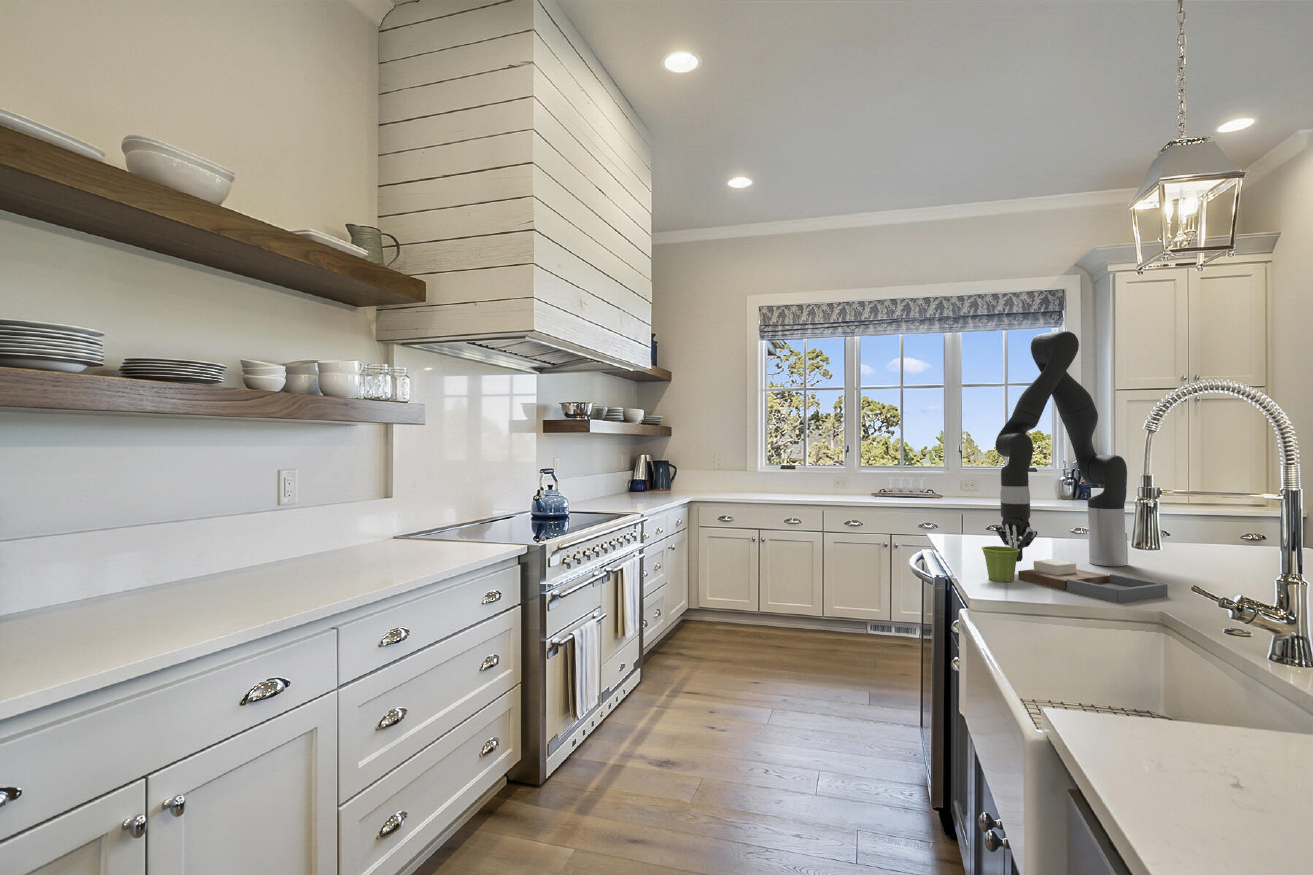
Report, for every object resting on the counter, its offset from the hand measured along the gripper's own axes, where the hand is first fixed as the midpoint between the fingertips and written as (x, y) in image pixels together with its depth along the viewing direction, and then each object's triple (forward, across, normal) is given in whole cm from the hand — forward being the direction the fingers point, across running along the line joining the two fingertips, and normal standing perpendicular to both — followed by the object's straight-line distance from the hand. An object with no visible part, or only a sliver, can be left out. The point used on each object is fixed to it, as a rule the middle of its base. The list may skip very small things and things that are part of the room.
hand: (1016, 560), depth 188 cm
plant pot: (+4, -6, +12) cm, 14 cm away
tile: (+1, -12, 0) cm, 12 cm away
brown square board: (+3, -15, 0) cm, 15 cm away
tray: (+3, -29, 0) cm, 29 cm away
